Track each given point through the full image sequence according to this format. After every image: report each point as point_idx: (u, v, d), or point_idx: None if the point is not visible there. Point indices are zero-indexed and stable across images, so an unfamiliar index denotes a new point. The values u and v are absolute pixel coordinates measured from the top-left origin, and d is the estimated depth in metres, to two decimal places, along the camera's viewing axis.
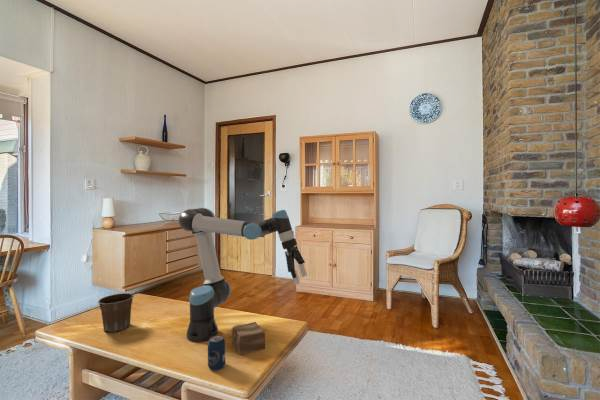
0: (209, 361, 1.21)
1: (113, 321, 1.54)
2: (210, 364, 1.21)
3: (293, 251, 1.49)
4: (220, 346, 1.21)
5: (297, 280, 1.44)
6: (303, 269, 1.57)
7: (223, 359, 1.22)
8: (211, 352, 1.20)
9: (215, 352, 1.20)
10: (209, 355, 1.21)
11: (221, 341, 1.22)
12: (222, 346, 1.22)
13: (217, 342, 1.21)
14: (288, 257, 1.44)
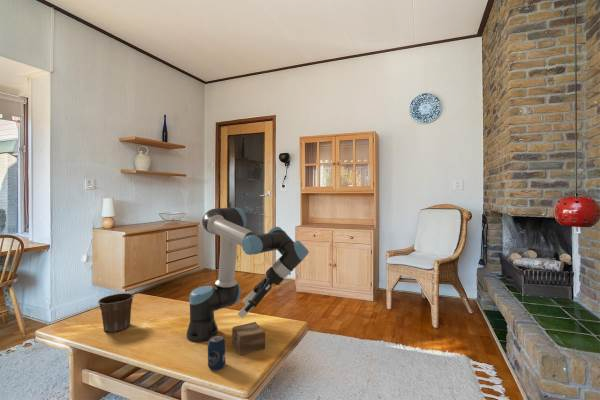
0: (209, 361, 1.21)
1: (113, 321, 1.54)
2: (210, 364, 1.21)
3: None
4: (220, 346, 1.21)
5: (244, 314, 1.17)
6: (251, 298, 1.30)
7: (223, 359, 1.22)
8: (211, 352, 1.20)
9: (215, 352, 1.20)
10: (209, 355, 1.21)
11: (221, 341, 1.22)
12: (222, 346, 1.22)
13: (217, 342, 1.21)
14: (264, 291, 1.17)
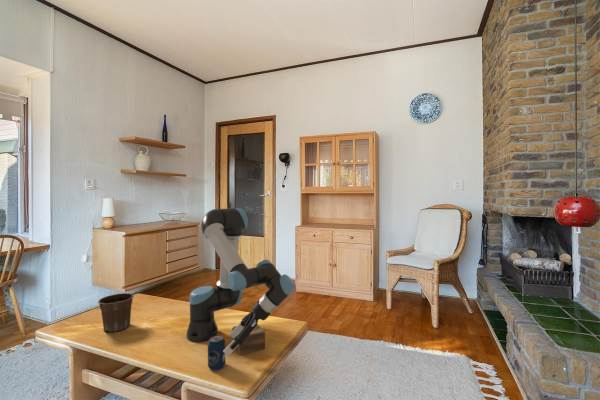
0: (209, 361, 1.21)
1: (113, 321, 1.54)
2: (210, 364, 1.21)
3: (256, 322, 1.21)
4: (220, 346, 1.21)
5: (229, 351, 1.16)
6: (238, 331, 1.29)
7: (223, 359, 1.22)
8: (211, 352, 1.20)
9: (215, 352, 1.20)
10: (209, 355, 1.21)
11: (221, 341, 1.22)
12: (222, 346, 1.22)
13: (217, 342, 1.21)
14: (249, 328, 1.16)
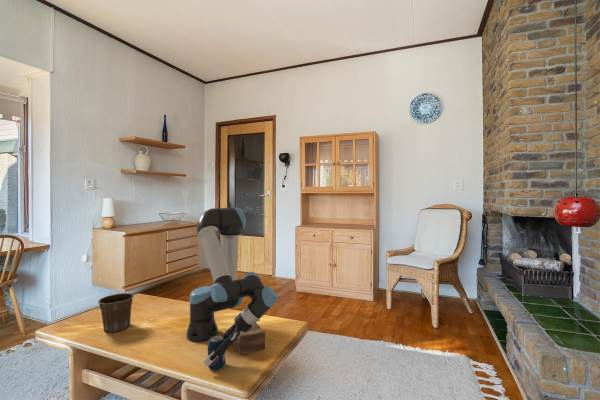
0: None
1: (113, 321, 1.54)
2: (210, 364, 1.21)
3: (237, 334, 1.22)
4: None
5: (209, 362, 1.19)
6: None
7: (223, 359, 1.22)
8: (211, 352, 1.20)
9: None
10: None
11: (221, 341, 1.22)
12: None
13: (217, 342, 1.21)
14: (228, 342, 1.17)
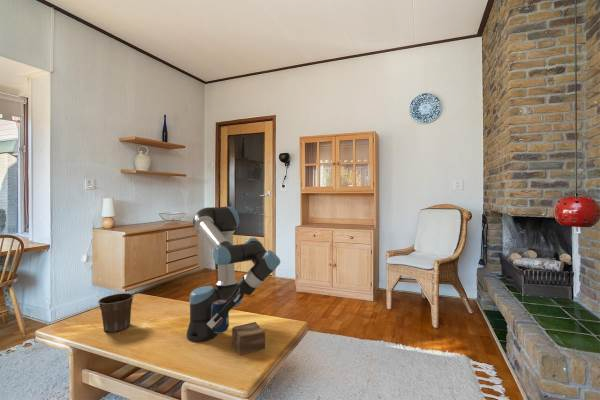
0: None
1: (113, 321, 1.54)
2: (214, 326, 1.22)
3: (241, 297, 1.23)
4: None
5: (213, 324, 1.20)
6: None
7: (227, 322, 1.23)
8: (214, 314, 1.21)
9: None
10: None
11: (224, 304, 1.23)
12: None
13: (220, 305, 1.22)
14: (232, 303, 1.18)
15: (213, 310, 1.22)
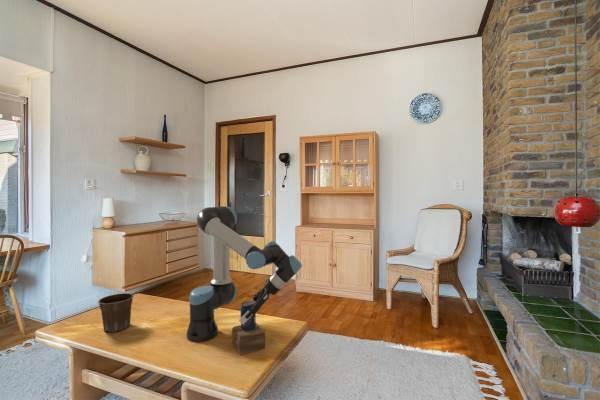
0: None
1: (113, 321, 1.54)
2: (243, 325, 1.37)
3: (267, 296, 1.38)
4: None
5: (244, 321, 1.33)
6: None
7: (254, 321, 1.39)
8: None
9: None
10: None
11: (252, 305, 1.39)
12: None
13: (249, 306, 1.38)
14: (262, 301, 1.33)
15: (242, 311, 1.37)
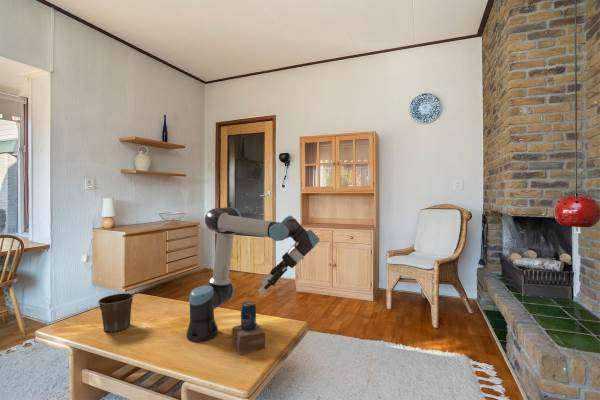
0: (242, 323, 1.38)
1: (113, 321, 1.54)
2: (243, 325, 1.37)
3: None
4: (252, 310, 1.38)
5: (263, 291, 1.36)
6: (268, 279, 1.49)
7: (254, 321, 1.39)
8: (244, 315, 1.37)
9: (248, 315, 1.37)
10: (242, 318, 1.37)
11: (253, 306, 1.39)
12: (254, 310, 1.39)
13: (249, 306, 1.37)
14: (281, 272, 1.35)
15: (243, 311, 1.37)
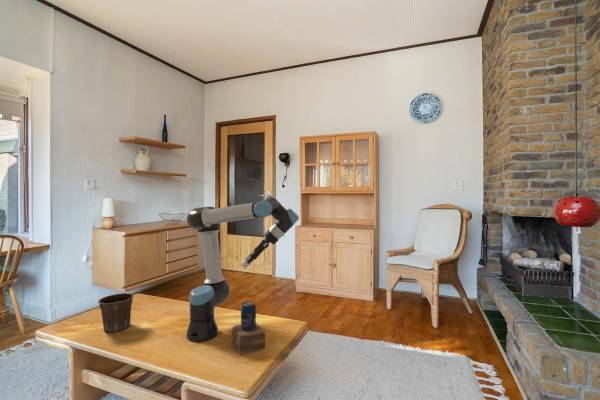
0: (242, 323, 1.38)
1: (113, 321, 1.54)
2: (243, 325, 1.37)
3: (267, 245, 1.51)
4: (252, 310, 1.38)
5: (246, 266, 1.45)
6: None
7: (254, 321, 1.39)
8: (244, 315, 1.37)
9: (248, 315, 1.37)
10: (242, 318, 1.37)
11: (253, 306, 1.39)
12: (254, 310, 1.39)
13: (249, 306, 1.37)
14: (262, 247, 1.45)
15: (243, 311, 1.37)
